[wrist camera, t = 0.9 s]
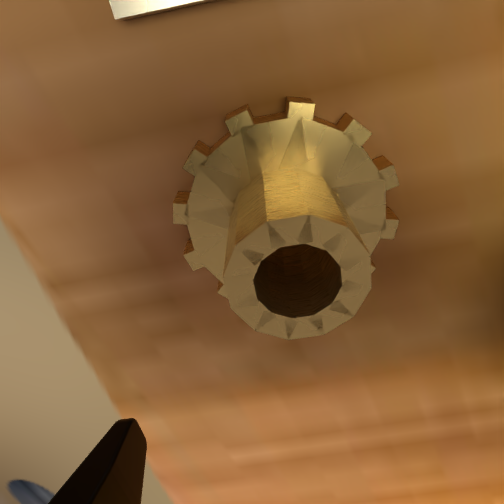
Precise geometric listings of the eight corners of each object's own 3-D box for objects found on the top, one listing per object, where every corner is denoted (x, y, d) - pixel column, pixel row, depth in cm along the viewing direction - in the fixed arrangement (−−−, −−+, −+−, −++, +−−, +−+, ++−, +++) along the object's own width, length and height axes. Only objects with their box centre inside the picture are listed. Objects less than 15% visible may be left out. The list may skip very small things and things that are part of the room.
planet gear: (387, 76, 16) (462, 99, 10) (389, 278, 21) (441, 368, 15) (152, 122, 17) (102, 166, 11) (207, 306, 22) (191, 401, 16)
